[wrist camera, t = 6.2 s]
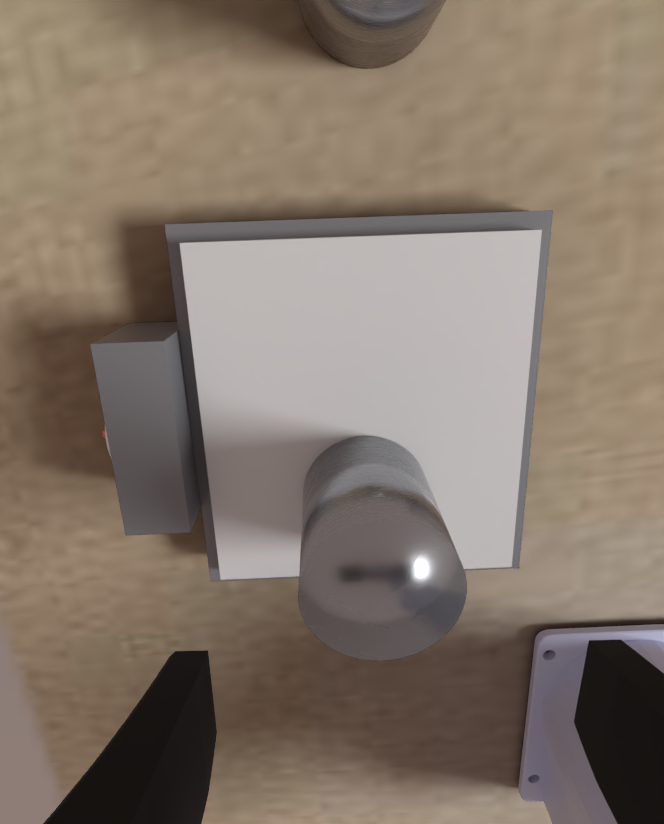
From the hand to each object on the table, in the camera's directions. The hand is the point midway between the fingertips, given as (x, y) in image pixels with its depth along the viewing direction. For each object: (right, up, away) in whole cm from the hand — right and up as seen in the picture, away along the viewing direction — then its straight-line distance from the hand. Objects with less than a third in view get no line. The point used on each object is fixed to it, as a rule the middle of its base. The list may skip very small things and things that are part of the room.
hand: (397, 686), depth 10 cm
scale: (-2, +6, +9) cm, 10 cm away
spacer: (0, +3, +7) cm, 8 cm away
